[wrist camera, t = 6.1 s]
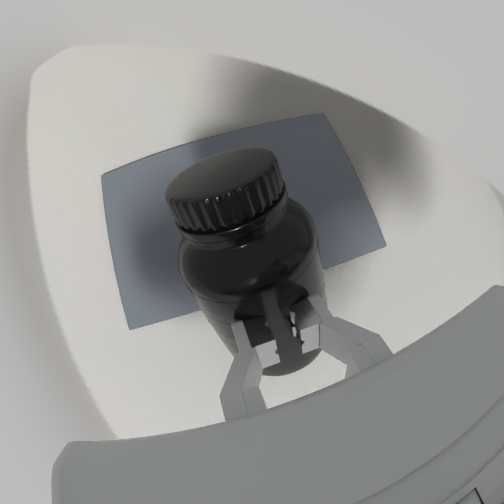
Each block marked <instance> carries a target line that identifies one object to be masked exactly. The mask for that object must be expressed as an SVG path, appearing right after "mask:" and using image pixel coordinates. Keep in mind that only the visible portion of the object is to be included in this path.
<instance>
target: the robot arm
mask: <svg viewBox="0 0 504 504" xmlns="http://www.w3.org/2000/svg"><path fill="white" fill-rule="evenodd" d="M288 312H289V317H290V319H291V321H290V327H291V332H292V334H293V336H295V337H296V338H297V344H298V346H299V348H300V350H301V352H302V354H304V353H306V352H309V351H312V350H315V349H317V348H320V349H322V350H323V351H325V352H327V353H328V354H330V355H332V356H333V357H335V358H337V359H338V360H340V361H342V362H343V363H345V364H347V369H346V374H345V379H343V380H341V381H339V382H337V383H335V384H332V385H330V386H328V387H325V388H323V389H321V390H318V391H316V392H313V393H311V394H308V395H306V396H303V397H300V398H298V399H295V400H292V401H290V402H287V403H284V404H281V405H278V406H275V407H272V408H269V409H268V408H267V406H266V403H265V401H264V399H263V396H262V394H261V391H260V389H259V388H258V387H259V384H260V380H261V376H262V372H263V368H266V367H269V366H271V365H274V364H277V363H279V362H280V359H279V354H278V352H277V345H276V341H275V338H274V336H273V333H272V331H271V328H270V327H268V323H267V319H266V317H265V315H263V316H259V317H254V318H249V319H243V321H242V320H240V321H237V322H234V323H231V326H232V329H233V333H234V336H235V340H236V343H237V346H238V350H239V352H238V353H236V355H235V358H234V360H233V363H232V365H231V368H230V370H229V373H228V376H227V378H226V381H225V383H224V386H223V388H222V391H221V393H220V400H221V404H222V408H223V412H224V416H225V420H226V421H225V422H221V423H217V424H213V425H209V426H204V427H200V428H195V429H190V430H185V431H179V432H174V433H168V434H162V435H155V436H148V437H140V438H131V439H120V440H106V441H74V442H69V443H68V444H67V445H66V446H65V447H64V449H63V450H62V451H61V453H60V454H59V456H58V457H57V459H56V461H55V462H54V465H53V469H52V478H51V482H52V483H51V488H52V504H504V287H503V286H499V285H494V286H492V287H491V288H489V289H488V290H487V291H486V292H485V293H483V294H482V295H481V296H480V297H478V298H477V299H476V300H475V301H473V302H472V303H471V304H469V305H468V306H467V307H465V308H464V309H463V310H461V311H460V312H459V313H457V314H456V315H455V316H453V317H452V318H450V319H449V320H447V321H446V322H445V323H443V324H442V325H440V326H439V327H437V328H436V329H434V330H433V331H431V332H430V333H428V334H426V335H425V336H423V337H422V338H420V339H418V340H417V341H415V342H414V343H412V344H410V345H409V346H407V347H405V348H403V349H402V350H400V351H398V352H397V353H395V354H393V353H392V352H391V350H390V349H389V348H388V346H387V345H386V343H385V342H384V341H383V339H382V338H381V336H380V335H379V334H376V333H374V332H372V331H369V330H367V329H364V328H362V327H360V326H357V325H355V324H353V323H350V322H348V321H346V320H343V319H341V318H339V317H335V318H334V317H333V316H332V314H331V313H330V311H329V310H328V308H327V307H326V305H325V304H324V302H323V301H322V299H321V298H320V296H319V295H318V294H315V295H312V296H309V297H307V298H304V299H302V300H300V301H298V302H296V303H294V304H292V305H290V306H288ZM243 323H244V324H243ZM244 326H245V327H244ZM245 329H246V330H245Z"/></svg>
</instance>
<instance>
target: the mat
mask: <svg viewBox="0 0 504 504" xmlns="http://www.w3.org/2000/svg"><path fill="white" fill-rule="evenodd" d="M245 147H257V148H264V149H269V151H273V153H274V154H275V155H276V157H277V159H278V163H279V167H280V170H281V174H282V179H283V180H284V181H285V184H286V188H287V192H288V197H289V198H291V199H293V200H295V201H296V202H298V203H299V204H301V205H302V206H303V207H304V208H305V209H306V210H307V211H308V213H309V214H310V215H311V217H312V219H313V221H314V223H315V226H316V230H317V234H318V240H319V247H320V253H321V260H322V268H323V270H324V269H326V268H329V267H332V266H335V265H337V264H340V263H343V262H346V261H348V260H351V259H354V258H356V257H359V256H362V255H364V254H367V253H370V252H372V251H375V250H378V249H380V248H383V247H385V246H387V245H386V242H385V240H384V237H383V234H382V232H381V229H380V227H379V224H378V222H377V219H376V217H375V215H374V212H373V210H372V208H371V205H370V203H369V201H368V198H367V196H366V194H365V192H364V190H363V187H362V185H361V183H360V181H359V179H358V177H357V175H356V173H355V170H354V168H353V166H352V164H351V162H350V160H349V158H348V156H347V155H346V153H345V151H344V149H343V147H342V145H341V143H340V141H339V139H338V138H337V136H336V134H335V132H334V130H333V129H332V127H331V125H330V123H329V121H328V120H327V118H326V116H325V115H324V113H322V114H315V115H309V116H303V117H297V118H291V119H286V120H280V121H275V122H270V123H266V124H261V125H256V126H252V127H248V128H243V129H239V130H235V131H231V132H227V133H223V134H220V135H216V136H212V137H209V138H205V139H202V140H198V141H195V142H192V143H189V144H185V145H182V146H179V147H176V148H173V149H170V150H167V151H164V152H161V153H158V154H155V155H152V156H150V157H147V158H144V159H142V160H139V161H136V162H134V163H131V164H128V165H126V166H123V167H121V168H118V169H116V170H114V171H111V172H109V173H106V174H104V175H102V176H101V181H102V192H103V201H104V209H105V217H106V224H107V231H108V237H109V243H110V249H111V254H112V260H113V265H114V270H115V274H116V279H117V283H118V288H119V292H120V296H121V300H122V304H123V308H124V312H125V316H126V319H127V323H128V327H129V330H132V329H135V328H139V327H143V326H146V325H150V324H154V323H157V322H161V321H164V320H168V319H171V318H175V317H178V316H182V315H185V314H188V313H192V312H195V311H198V310H201V308H200V307H199V305H198V304H197V302H196V301H195V299H194V298H193V296H192V294H191V293H190V291H189V290H188V288H187V286H186V285H185V283H184V281H183V279H182V277H181V275H180V272H179V269H178V249H179V245H180V242H181V239H182V237H183V236H182V235H181V234H180V232H179V230H178V229H177V227H176V225H175V221H174V219H175V218H174V216H173V214H172V212H171V210H170V208H169V206H168V204H167V202H166V199H165V191H166V188H167V186H168V185H169V183H170V182H171V181H172V180H173V178H174V177H176V176H177V175H178V174H179V173H180V172H182V171H184V170H185V169H186V168H188V167H189V166H191V165H193V164H194V163H196V162H199V161H200V160H202V159H205V158H207V157H209V156H212V155H215V154H218V153H220V152H225V151H228V150H233V149H237V148H245Z"/></svg>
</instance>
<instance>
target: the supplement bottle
mask: <svg viewBox="0 0 504 504" xmlns="http://www.w3.org/2000/svg"><path fill="white" fill-rule="evenodd" d="M165 199H166V202H167V204H168V206H169V208H170V210H171V212H172V214H173V216H174V218H175V219H174V221H175V225H176V227H177V229H178V230H179V232H180V234H181V235H182V236H183V237H182V239H181V242H180V245H179V249H178V269H179V272H180V275H181V277H182V279H183V281H184V283H185V285H186V286H187V288H188V290H189V291H190V293H191V294H192V296H193V298H194V299H195V301H196V302H197V304H198V305H199V307H200V308H201V310H202V311H203V313H204V314H205V316H206V318H207V319H208V321H209V322H210V323H211V325H212V326H213V328H214V329H215V331H216V332H217V334H218V335H219V337H220V338H221V340H222V341H223V343H224V344H225V345H226V347H227V348H228V350H229V351H230V352H231V354H232V355H233V356H234V358H235V355H236V353H238V352H239V350H238V346H237V343H236V340H235V336H234V333H233V329H232V326H231V323H234V322H237V321H240V320H242V321H243V319H249V318H254V317H259V316H263V315H265V317H266V319H267V323H268V327H270V328H271V331H272V333H273V336H274V338H275V341H276V345H277V352H278V354H279V359H280V362H279V363H277V364H274V365H271V366H269V367H266V368H263V372H262V375H265V376H282V375H287V374H291V373H293V372H296V371H298V370H300V369H302V368H304V367H305V366H307V365H308V364H310V363H311V362H312V361H313V360H314V359H315V358H316V357H317V356H318V355H319V353H320V352H321V350H322V349H320V348H317V349H315V350H312V351H309V352H306V353H304V354H302V352H301V350H300V348H299V346H298V344H297V338H296V337H295V336H293V334H292V332H291V327H290V321H291V319H290V317H289V312H288V306H290V305H292V304H294V303H296V302H298V301H300V300H302V299H304V298H307V297H309V296H312V295H315V294H318V295H319V296H320V298H321V299H322V301H323V302H324V304H325V305H326V307H327V300H326V292H325V283H324V275H323V268H322V260H321V253H320V247H319V240H318V234H317V230H316V226H315V223H314V221H313V219H312V217H311V215H310V214H309V213H308V211H307V210H306V209H305V208H304V207H303V206H302V205H301V204H299V203H298V202H296V201H295V200H293V199H291V198H289V197H288V192H287V188H286V184H285V181H284V180H283V179H282V174H281V170H280V167H279V163H278V159H277V157H276V155H275V154H274V153H273V151H269V149H264V148H257V147H245V148H237V149H233V150H228V151H225V152H220V153H218V154H215V155H212V156H209V157H207V158H205V159H202V160H200V161H199V162H196V163H194V164H193V165H191V166H189V167H188V168H186V169H185V170H184V171H182V172H180V173H179V174H178V175H177V176H176V177H174V178H173V180H172V181H171V182H170V183H169V185H168V186H167V188H166V191H165ZM243 324H244V323H243ZM244 327H245V326H244ZM245 330H246V329H245Z"/></svg>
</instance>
